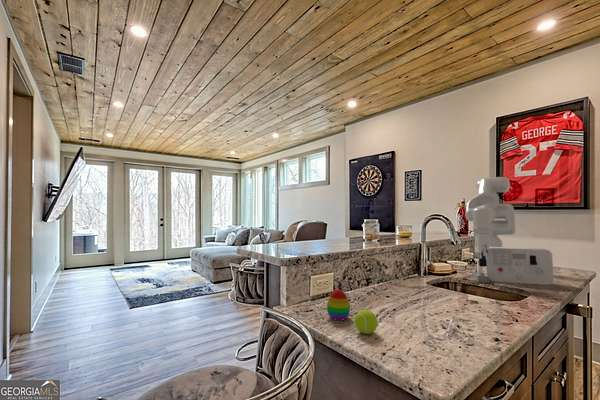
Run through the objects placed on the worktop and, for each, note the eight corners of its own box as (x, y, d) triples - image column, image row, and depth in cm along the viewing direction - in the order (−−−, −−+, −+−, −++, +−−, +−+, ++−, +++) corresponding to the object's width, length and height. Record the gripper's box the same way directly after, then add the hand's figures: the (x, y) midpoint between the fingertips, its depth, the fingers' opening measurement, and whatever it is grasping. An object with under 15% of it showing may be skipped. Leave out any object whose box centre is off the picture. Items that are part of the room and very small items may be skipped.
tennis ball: (365, 326, 94) (365, 305, 95) (382, 334, 88) (381, 311, 89) (350, 331, 91) (349, 309, 91) (366, 339, 85) (365, 316, 85)
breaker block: (471, 276, 165) (471, 270, 165) (481, 276, 164) (481, 270, 164) (477, 282, 151) (477, 275, 151) (488, 283, 150) (488, 276, 150)
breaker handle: (476, 274, 159) (476, 259, 160) (481, 274, 158) (481, 259, 159) (477, 275, 157) (477, 259, 157) (482, 276, 156) (482, 260, 156)
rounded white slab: (488, 282, 152) (487, 248, 153) (485, 279, 159) (484, 246, 160) (556, 286, 142) (554, 250, 142) (548, 283, 149) (547, 248, 150)
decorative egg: (322, 318, 102) (322, 290, 103) (335, 312, 108) (334, 285, 109) (342, 323, 97) (341, 294, 97) (354, 317, 103) (353, 289, 104)
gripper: (470, 230, 159) (471, 263, 159) (476, 232, 145) (478, 268, 145) (486, 230, 157) (487, 264, 156) (494, 232, 143) (495, 269, 142)
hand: (482, 266), depth 150 cm, fingers closed
